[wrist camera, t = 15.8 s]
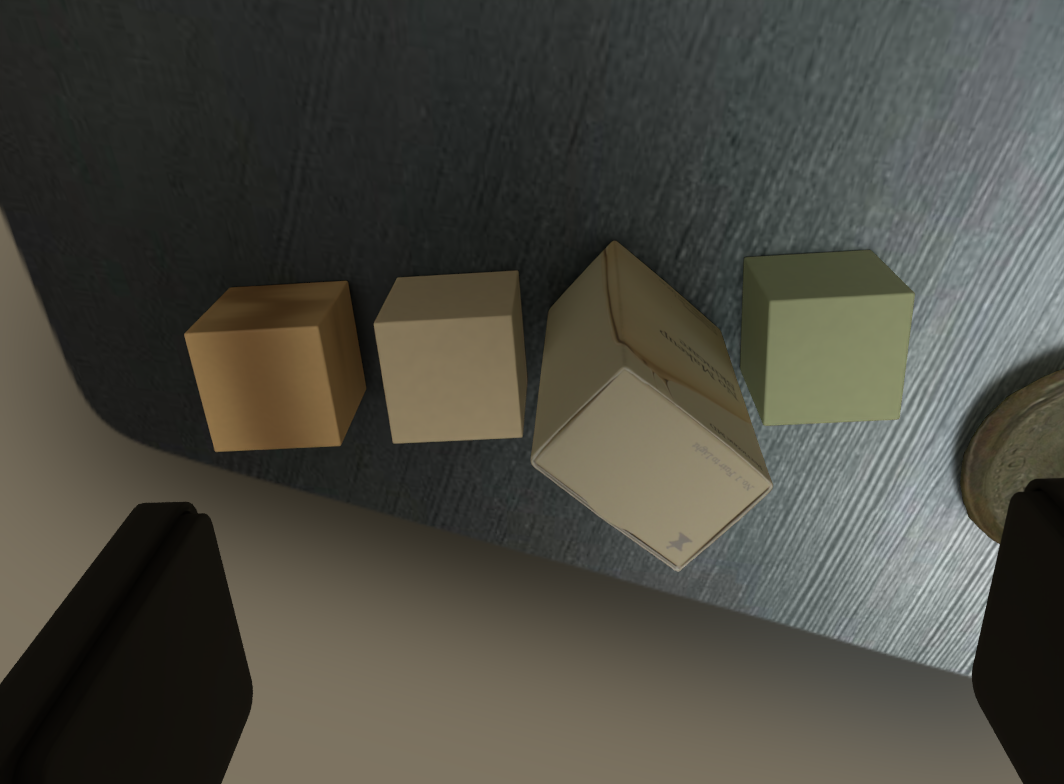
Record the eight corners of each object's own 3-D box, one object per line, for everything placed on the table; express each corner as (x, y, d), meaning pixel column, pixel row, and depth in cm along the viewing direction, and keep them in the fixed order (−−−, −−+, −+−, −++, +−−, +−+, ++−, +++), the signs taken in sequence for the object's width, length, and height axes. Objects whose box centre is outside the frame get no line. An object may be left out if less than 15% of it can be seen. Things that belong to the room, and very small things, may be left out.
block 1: (254, 394, 39) (214, 452, 35) (229, 286, 37) (182, 333, 32) (367, 389, 39) (341, 446, 34) (348, 279, 37) (317, 326, 32)
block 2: (412, 386, 39) (392, 444, 34) (396, 277, 36) (372, 323, 32) (527, 381, 38) (523, 438, 34) (518, 269, 36) (511, 315, 32)
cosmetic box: (722, 329, 37) (788, 488, 26) (648, 401, 39) (681, 579, 28) (609, 233, 35) (628, 360, 24) (537, 312, 37) (525, 465, 26)
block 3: (739, 370, 38) (763, 426, 33) (743, 256, 36) (769, 300, 31) (860, 363, 37) (900, 420, 33) (871, 248, 35) (916, 292, 31)
